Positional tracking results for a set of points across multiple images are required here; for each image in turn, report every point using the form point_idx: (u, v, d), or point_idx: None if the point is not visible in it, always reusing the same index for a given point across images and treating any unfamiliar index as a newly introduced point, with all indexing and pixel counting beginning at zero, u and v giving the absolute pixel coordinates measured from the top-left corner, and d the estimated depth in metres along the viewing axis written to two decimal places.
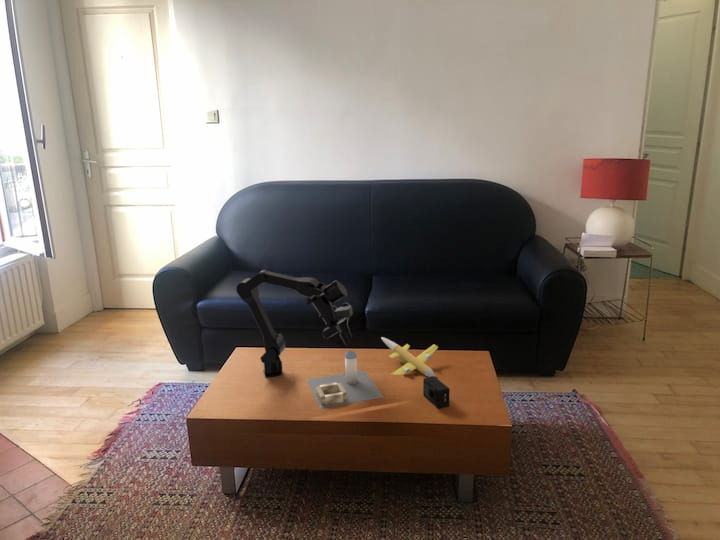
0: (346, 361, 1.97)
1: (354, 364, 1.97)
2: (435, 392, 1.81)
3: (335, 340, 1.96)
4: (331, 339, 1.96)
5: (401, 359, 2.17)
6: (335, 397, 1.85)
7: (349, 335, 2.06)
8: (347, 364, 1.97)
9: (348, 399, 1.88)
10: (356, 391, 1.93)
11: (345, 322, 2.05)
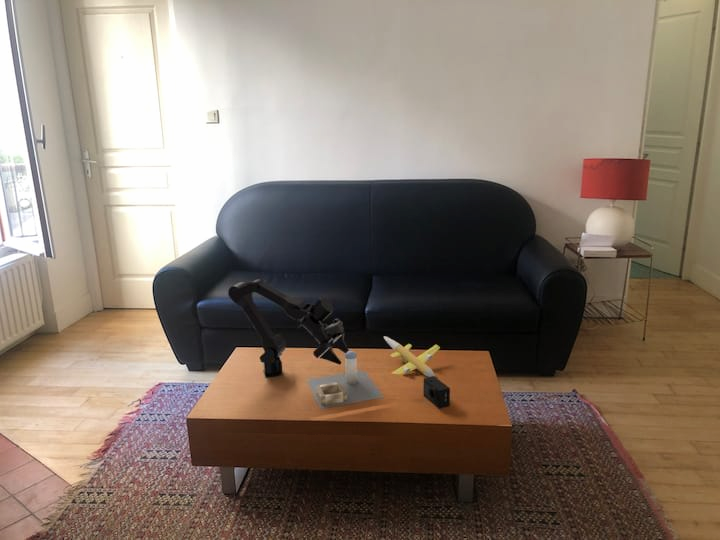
0: (346, 361, 1.97)
1: (354, 364, 1.97)
2: (436, 392, 1.81)
3: (328, 358, 1.95)
4: (324, 357, 1.95)
5: (403, 359, 2.18)
6: (335, 397, 1.85)
7: (347, 351, 2.04)
8: (347, 364, 1.97)
9: (348, 399, 1.88)
10: (356, 391, 1.93)
11: (340, 339, 2.04)
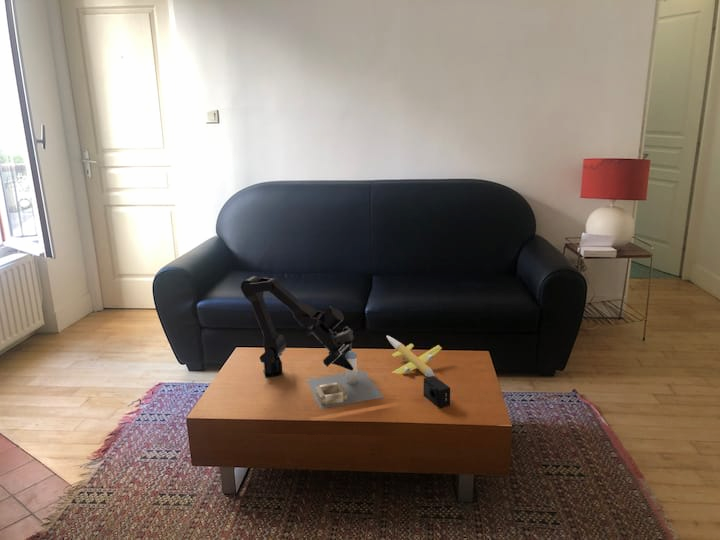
0: None
1: (354, 364, 1.97)
2: (436, 392, 1.81)
3: (340, 364, 1.96)
4: (336, 363, 1.96)
5: (404, 358, 2.18)
6: (335, 397, 1.85)
7: None
8: None
9: (348, 399, 1.88)
10: (356, 391, 1.93)
11: (348, 349, 2.01)
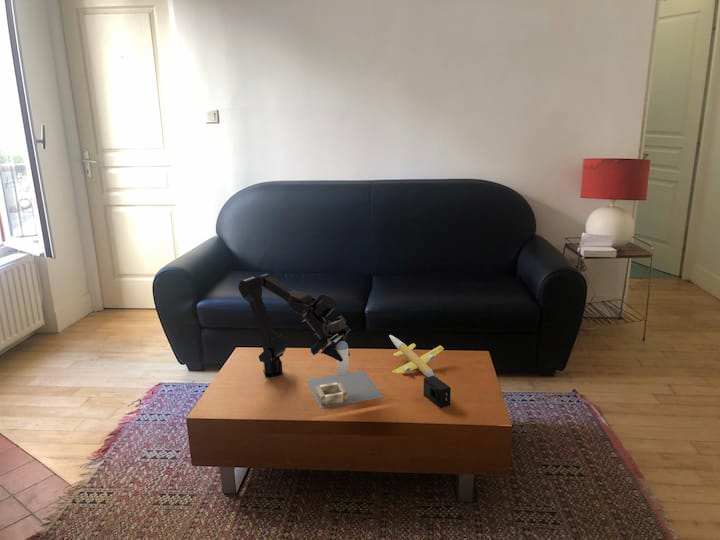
0: None
1: (344, 355, 1.89)
2: (436, 391, 1.81)
3: (330, 354, 1.89)
4: (326, 353, 1.90)
5: (406, 358, 2.18)
6: (335, 397, 1.85)
7: None
8: None
9: (348, 399, 1.88)
10: (356, 391, 1.93)
11: (341, 339, 1.94)
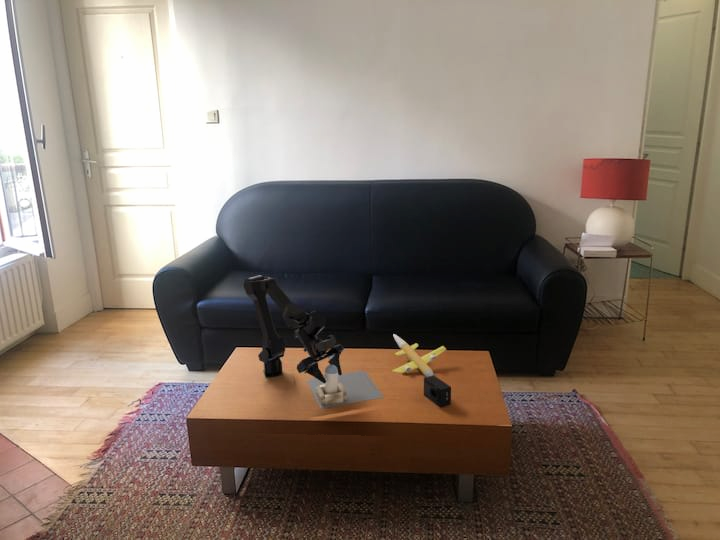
0: (325, 375, 1.87)
1: (332, 379, 1.85)
2: (437, 391, 1.82)
3: (314, 374, 1.85)
4: (310, 373, 1.86)
5: (409, 357, 2.19)
6: (335, 397, 1.85)
7: (339, 372, 1.90)
8: (325, 378, 1.86)
9: (348, 399, 1.88)
10: (356, 391, 1.93)
11: (334, 357, 1.91)
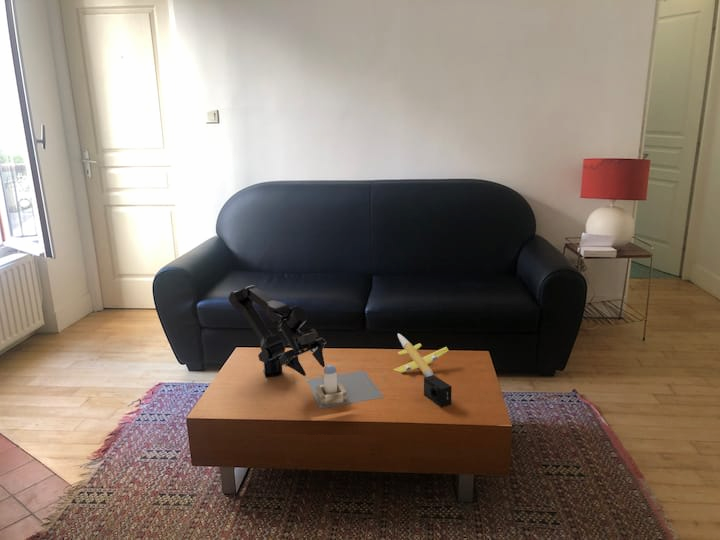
0: (324, 375, 1.87)
1: (331, 379, 1.86)
2: (438, 391, 1.82)
3: (294, 367, 1.91)
4: (290, 366, 1.91)
5: (411, 357, 2.19)
6: (335, 397, 1.85)
7: (322, 364, 1.96)
8: (324, 378, 1.87)
9: (348, 399, 1.88)
10: (356, 391, 1.93)
11: (318, 350, 1.97)
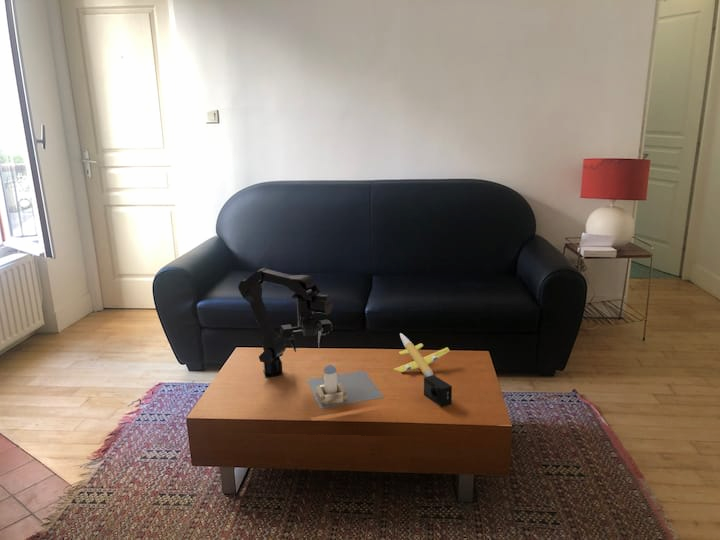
0: (324, 375, 1.87)
1: (331, 379, 1.86)
2: (438, 390, 1.82)
3: None
4: None
5: None
6: (335, 397, 1.85)
7: (318, 345, 2.01)
8: (324, 378, 1.87)
9: (348, 399, 1.88)
10: (356, 391, 1.93)
11: (320, 333, 1.99)
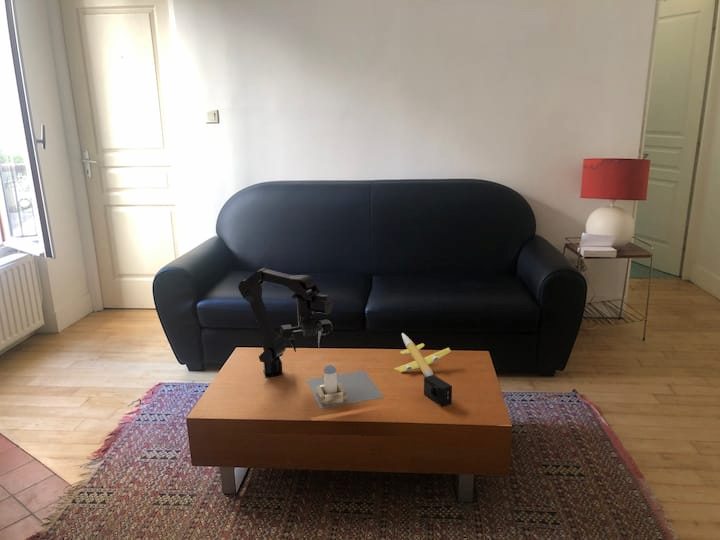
0: (324, 375, 1.87)
1: (331, 379, 1.86)
2: (438, 390, 1.82)
3: None
4: None
5: None
6: (335, 397, 1.85)
7: (318, 345, 2.01)
8: (324, 378, 1.87)
9: (348, 399, 1.88)
10: (356, 391, 1.93)
11: (320, 333, 1.99)
